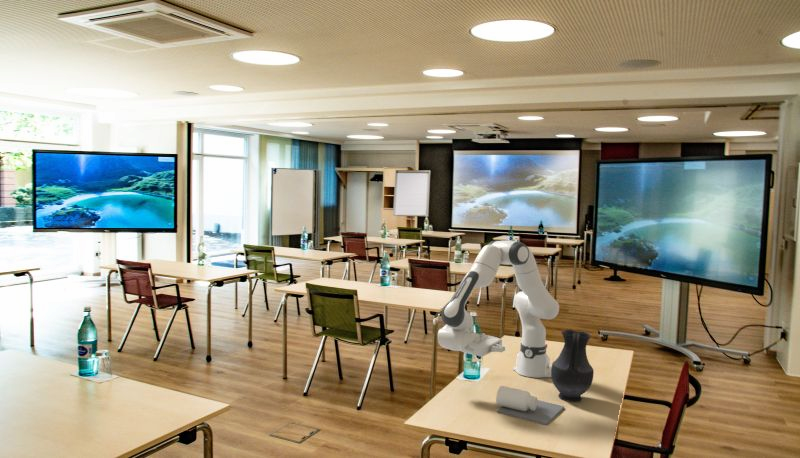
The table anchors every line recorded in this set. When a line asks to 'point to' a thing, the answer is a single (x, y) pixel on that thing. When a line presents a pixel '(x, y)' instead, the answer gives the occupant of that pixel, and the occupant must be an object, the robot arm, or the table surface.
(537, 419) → the mat
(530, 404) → the pill bottle
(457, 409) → the table surface
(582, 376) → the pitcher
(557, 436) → the table surface
